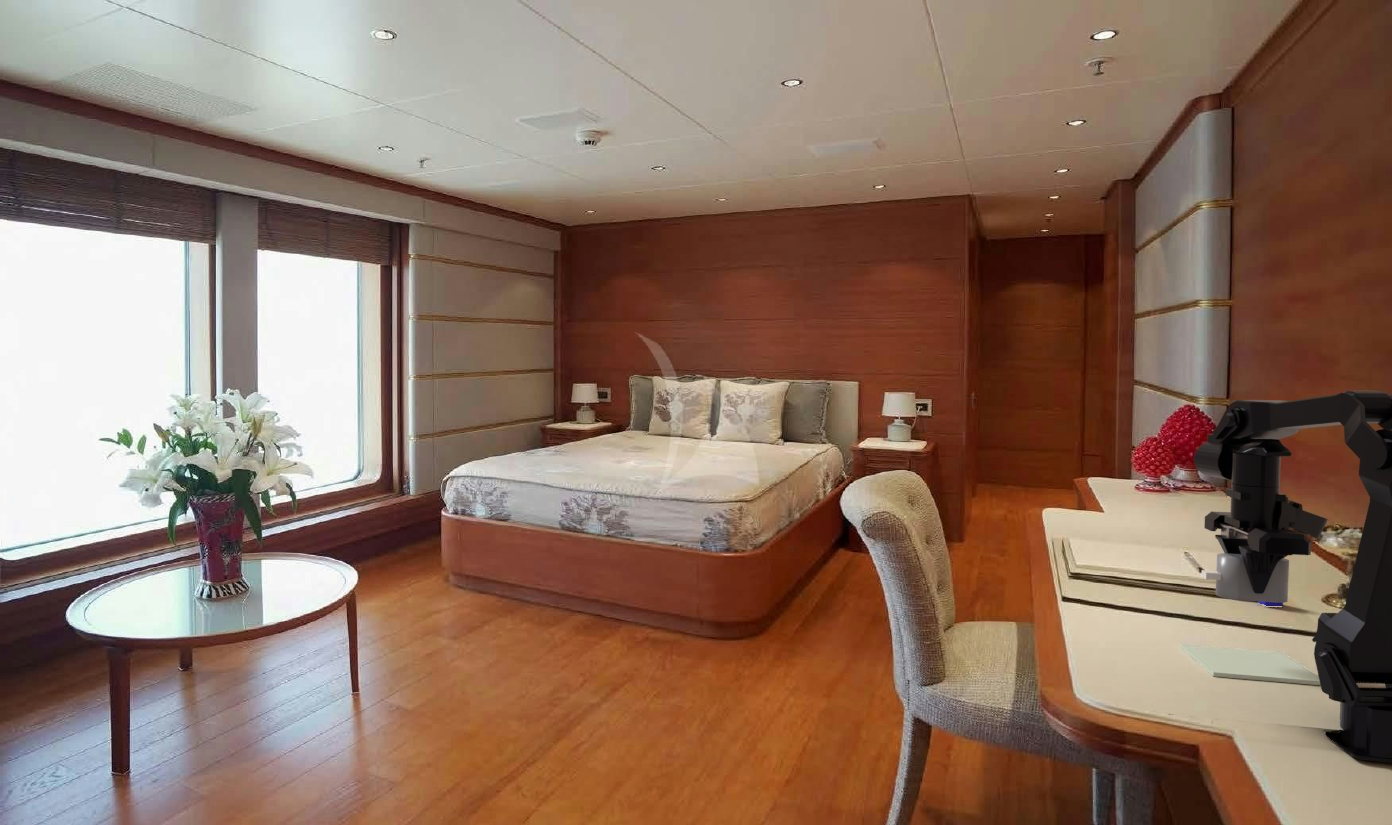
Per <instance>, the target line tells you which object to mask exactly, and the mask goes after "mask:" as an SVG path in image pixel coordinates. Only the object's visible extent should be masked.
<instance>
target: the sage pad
mask: <svg viewBox="0 0 1392 825" xmlns="http://www.w3.org/2000/svg"><path fill="white" fill-rule="evenodd" d="M1179 646H1180V647H1179V648H1180V649H1181V650H1182V651H1183V652H1184V653H1185V654H1187V655H1188V656H1189V657H1190V658H1191V659H1192V660H1194V661H1195V662H1196V663H1197V664H1198V665H1200V666H1201V667H1202V668H1203V669H1204V670H1205V671H1206V672H1208V673H1209V674H1210V675H1211V676H1213V677H1217V678H1229V679H1237V680H1238V679H1242V680H1251V681H1264V682H1273V683H1274V682H1275V683H1287V684H1288V683H1289V684H1300V685H1302V684H1303V685H1312V686H1321V685H1320V680H1319V676H1318V674H1316V673H1315V672H1313V671H1311V670H1310V669H1309V668H1307V667H1305V666H1304V665H1302V664H1301V663H1299V662H1298V661H1297V660H1295V659H1293V658H1292V657H1291V656H1288V655H1287V654H1285V653H1284V652H1283V651H1276V650H1275V651H1274V650H1264V649H1263V650H1262V649H1247V648H1238V647H1237V648H1236V647H1224V646H1211V645H1197V644H1187V643H1186V644H1185V643H1184V644H1183V643H1180V644H1179Z"/></svg>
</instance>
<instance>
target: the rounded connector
mask: <svg viewBox="0 0 1392 825" xmlns="http://www.w3.org/2000/svg"><path fill="white" fill-rule="evenodd" d="M1289 571H1290V559H1287V558H1286V557H1285V558H1283V559H1281V560H1280V561H1279V562H1278V563H1277V565H1276V567H1275V569H1274V571H1273V573H1272V575H1271V577H1270V580H1269V582H1268V584H1267V586H1266V589H1265V591H1264V593H1263V594H1257V593H1254V591H1253V589H1252V586H1251V583H1250V580H1249V577H1248V574H1247V571H1246V568H1245V565H1244V561H1243V558H1242V555H1241V554H1227V553H1224V552H1223V553H1217V554H1216V570H1208V569H1207V570H1205V569H1201V578H1203V579H1205V580H1213V581H1215V596H1217V597H1220V598H1223V599H1227V600H1235V601H1246V602H1247V601H1248V602H1255V601H1261V602H1276V603H1283V604H1284V603H1285V604H1286V603H1287V602H1288V596H1289V575H1290V573H1289Z"/></svg>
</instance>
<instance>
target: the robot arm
mask: <svg viewBox="0 0 1392 825" xmlns="http://www.w3.org/2000/svg"><path fill="white" fill-rule="evenodd" d="M1370 424H1377V425H1378V426H1379V427H1381V429H1377V430H1375V429H1374V428H1373V427H1372V426H1371V425H1370ZM1332 426H1334V427H1335V426H1343V430H1344V431H1343V432H1344V433H1343V435H1344V436H1343V438H1344V443H1345V445H1346V446H1347V447H1348V448H1349V449H1350V450H1351V451H1352V452H1353V453H1354V455H1355V456H1357V458H1358V459H1359V468H1358V477H1359V478H1360V481H1361V483H1362V484H1363V486H1364V488H1365V491H1366V492H1367V494H1368V497H1369V503H1368V508H1367V512H1366V516H1365V520H1364V525H1363V529H1362V533H1361V537H1360V541H1359V544H1358V549H1357V552H1356V553H1357V554H1356V557H1355V562H1354V566H1353V571H1352V574H1351V578H1350V582H1349V586H1348V591H1347V595H1346V599H1345V604H1344V606H1343V608H1341V609H1340V610H1339V611H1338V612H1322V613H1321V614H1320V615H1319V617H1318V618H1317V629H1316V632H1315V635H1314V636H1313V637H1312V639H1311V641H1312V642H1313V643H1315V645H1314V652H1313V655H1314V656H1313V658H1314V662H1315V666H1316V670H1317V675H1318V676H1319V680H1320V685H1319V686H1320V690H1321V692H1322V693H1324V694H1326V695H1328V700H1332V701H1334V702H1338V703H1340V705H1339V727H1340V728H1341V729H1339V732H1338V731H1324V732H1325V733H1324V736H1325V737H1327V738H1328V739H1329V740H1330V741H1332V743H1334V744H1335V745H1337V746H1338V747H1340V749H1341V750H1343V751H1344V752H1346V753H1347V754H1348V755H1349V756H1350V757H1352V758H1354V759H1356V760H1362V761H1369V762H1371V761H1372V762H1380V763H1391V764H1392V395H1391V394H1389V393H1387V392H1384V391H1382V390H1345V391H1343V392H1340V393H1338V394H1337V393H1336V394H1330V395H1329V394H1328V395H1324V396H1323V395H1321V396H1316V397H1309V398H1303V399H1294V400H1281V399H1275V400H1274V399H1272V400H1271V399H1236V400H1233V401H1231V402H1230V403H1229V405H1228V408H1226V410H1225V412H1224V413H1223V415H1222V417H1221V418H1220V421H1219V422H1218V423H1217V425H1216V426H1215V428H1214V429H1213V431H1212V432H1211V433H1212V434H1211V433H1210V434H1207V437H1206V438H1207V439H1206V441H1205V442H1204V443H1202V444H1200V446H1198V448H1197V449H1196V450H1195V453H1194V455H1193V463H1194V466H1195V468H1196V470H1197V471H1199V472H1200V473H1201V474H1203V475H1204V476H1207V477H1208V476H1209V477H1214V478H1217V479H1224V480H1228V481H1231V485H1230V486H1231V487H1230V488H1225V493H1224V494H1225V496H1227V497H1229V498H1230V511H1210V512H1209V513H1208V514H1206V515H1205V516H1204V529H1206V530H1208V531H1210V532H1217V530H1220V534H1215V535H1214V537H1215V539H1217V541H1218V543H1219V545H1220V547H1221V549H1222V551H1223V553H1227V554H1241V555H1242V558H1243V561H1244V565H1245V568H1246V571H1247V574H1248V577H1249V580H1250V583H1251V586H1252V589H1253V591H1254V593H1257V594H1263V593H1264V591H1265V589H1266V586H1267V584H1268V582H1269V580H1270V577H1271V575H1272V573H1273V571H1274V569H1275V567H1276V565H1277V563H1278V562H1279V561H1280V560H1281V559H1283V558H1285V559H1286V557H1288V556H1295V555H1297V556H1311V555H1312V540H1310V538H1309V537H1308V536H1310V537H1311V538H1314V539H1317V540H1319V539H1320V536H1321V534H1322V532H1323V531H1324V528H1325V526H1326V524H1327V523H1328V520H1329V519H1328V518H1326V517H1323V516H1320V515H1319V514H1318V515H1317V514H1314V513H1312V512H1308V511H1306V510H1303V509H1304V508H1303V504H1302V503H1300V502H1299V503H1298V502H1295V501H1293V500H1290V499H1289V498H1288V496H1287V495H1286V494H1285V493H1282V492H1280V486H1281V483H1280V480H1281V461H1282V457H1284V458H1287V457H1288V458H1291V456H1292V452H1291V450H1289V448H1287V447H1286V446H1285V445H1284V444H1283V443H1282V441H1281V439H1284V438H1287V437H1290V436H1293V435H1296V434H1297V433H1298V432H1299V431H1300V430H1303V429H1310V428H1321V427H1332ZM1358 684H1376V685H1377V684H1378V685H1382V684H1383V685H1384V686H1385V687H1362V686H1361V687H1360V686H1358Z"/></svg>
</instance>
